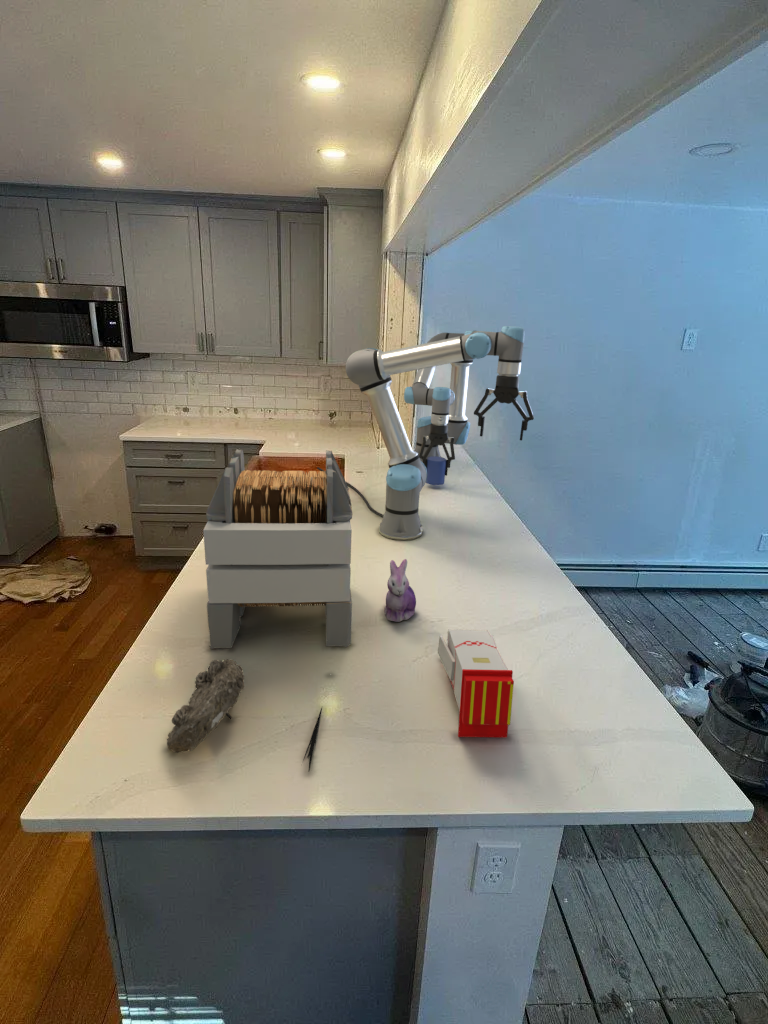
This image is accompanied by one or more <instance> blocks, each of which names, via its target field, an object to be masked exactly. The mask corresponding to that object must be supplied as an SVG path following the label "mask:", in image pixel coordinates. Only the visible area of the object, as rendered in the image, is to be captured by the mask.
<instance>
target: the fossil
mask: <svg viewBox="0 0 768 1024" xmlns="http://www.w3.org/2000/svg"><path fill="white" fill-rule="evenodd" d="M243 670H244V669H243V667H242V665H240V664H237V662H236V661H235V660H234V659H232V658H231V659H227V658H226V659H224V660H223V661H222V660H217V659H212V660H211V661H210V663H209V665H208V666H207V671H201V672H199V673H198V674H197V675H196V676H195V680H194V684H195V685H194V687H195V689H194V690H193V693H192V694H191V697H190V698H189V700H188V704H184V705H182V706H181V707H180V709H177V710H176V711H175V713H174V715H173V716H172V718H171V723H172V724H173V727H172V730H171V731H170V732H168V734H167V738H166V741H167V742H166V745H167V749H168V750H169V751H173V752H174V753H176V754H178V753H182V752H188V751H189V752H192V751H193V750H195V748H196V747H197V746H199V744H200V743H201V742H203V741H204V740H205V739H206V738H207V737H208V736H209V735H210V734H211V733H212V732H214V730H215V729H217V727H218V726H219V724H220V722H221V721H222V720H223V719H224V718H225V716H226V717H227V719H229V720H233V717H232V715H230V714H229V710H230V709H231V708H234V706H235V704H236V703H237V702H238V699H239V697H240V695H241V693H242V691H243V690H245V689H244V688H245V675H244V671H243Z"/></svg>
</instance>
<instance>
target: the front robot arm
mask: <svg viewBox="0 0 768 1024" xmlns="http://www.w3.org/2000/svg"><path fill="white" fill-rule="evenodd" d="M525 333H526V331H525V329H524V327H522V326H510V325H503V326H502V327H501V329H500V331H497V332H496V331H487V330H486V331H484V330H466V331H465V332H464V333H463V334H464V336H459V337H454V338H449V339H444V340H439V341H435V342H430V343H427V342H426V343H425V342H424V343H419V344H416V345H411V346H406V347H401V348H396V349H392V350H387V351H383V350H382V349H377V348H374V347H366V348H363V349H359V350H356V351H354V352H353V353H351V354H349V356H348V358H347V360H346V363H345V374H346V376H347V377H348V379H349V380H350V382H352V384H353V383H354V384H355V385H357V386H358V387H359V391H360V393H361V394H363V395H365V396H366V397H367V399H368V402H369V405H370V408H371V410H372V413H373V416H374V418H375V421H376V424H377V427H378V429H379V433H380V435H381V438H382V440H383V442H384V446H385V448H386V451H387V453H388V456H389V459H388V463H387V465H388V470H387V471H386V476H385V483H386V484H385V504H384V505H385V507H384V508H385V509H384V513H381V512H379V511H377V510H375V509H374V508H373V507H372V506H371V505H370V502H369V501H368V500H367V498H366V497H365V496H364V495H363V494H362V492H360V490H358V489H357V488H356V487H355V486H354V485H352V484H351V483H349V482H348V481H346V484H347V486H348V487H349V488H350V489H352V490H353V491H355V492H356V493H357V494H358V495H359V496H360V497H361V499H362V500H363V501H364V503H365V504H366V507H367V508H368V509H369V511H371V512H372V513H374V514H375V515H377V516H379V517H381V518H382V519H381V522H379V526H378V533H379V534H380V535H381V536H382V537H385V538H387V539H389V540H395V541H410V540H415V539H418V538H420V537H421V536H422V535H423V531H424V527H423V525H422V524H421V518H420V515H419V507H420V506H419V505H420V494H421V491H422V490H423V488H424V487H425V485H426V484H427V483H426V480H427V469H426V467H425V465H424V464H423V463H422V462H421V460H420V458H419V455H418V453H417V452H415V451H414V449H413V448H412V446H411V442H410V440H409V437H408V434H407V430H406V429H405V426H404V423H403V421H402V417H401V414H400V412H399V409H398V406H397V404H396V401H395V398H394V395H393V393H392V389H391V385H392V382H393V380H392V377H391V376H393V375H398V374H402V373H407V372H413V371H418V370H419V369H424V368H429V367H434V366H436V367H437V366H443V365H448V364H450V363H454V362H459V361H464V360H470V359H475V360H479V359H483V358H485V357H486V356H493V357H496V356H497V357H498V360H497V369H496V374H497V375H496V379H495V388H494V389H493V388H491V387H486V388H485V390H484V391H485V392H484V395H483V397H482V399H480V401H479V403H478V405H477V406H476V408H475V409H474V411H473V415H474V416H476V417H478V418H477V419H478V420H477V426H478V427H480V431H479V437H483V436H484V430H485V419H486V416H484V415H485V414H487V412H488V411H489V410H490V409H491V408H492V407H493V406H495V404H497V403H500V404H507V405H509V404H512V405H513V406H514V407H515V410H517V412H518V413H519V414H520V416H521V417H522V421H521V427H520V435H519V441H523V438H524V431H525V432H526V431H527V430H528V426H529V425H528V424H529V422H530V421H533V420H535V415H534V413H533V410H532V407H531V405H530V401H529V398H528V391H527V390H524V391H519V387H520V386H519V385H520V375H521V369H522V361H523V360H522V359H523V352H524V346H525V345H524V344H525ZM492 394H493V395H494V397H495V398H494V399H493V400H492V401H491V402H490V403H489V404H488V405H487V406H485V408H483V410H482V411H480V410H481V408H482V407H483V405H484V404H485V402H486V401H487V399H488V397H489V396H491V395H492ZM519 396H520V398H522V399H523V402H524V403H523V404H524V405H525V408H526V411H527V413H526V411H524V409H523V408H522V406H521V404H520V403H519V402H518V400H517V398H518V397H519ZM316 470H318V471H319V472H320V471H321V472H322V471H323V472H324V471H325V472H326V470H325V469H323V468H321V467H316Z"/></svg>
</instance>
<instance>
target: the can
mask: <svg viewBox="0 0 768 1024" xmlns="http://www.w3.org/2000/svg"><path fill="white" fill-rule="evenodd" d="M446 460H447V458H446V457H442V456H441V457H428V458H427V480H426V483H425V484H427V485H430V486H443V485H445V481H446V475H445V470H446Z"/></svg>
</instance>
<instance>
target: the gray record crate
mask: <svg viewBox="0 0 768 1024" xmlns="http://www.w3.org/2000/svg"><path fill="white" fill-rule="evenodd" d="M307 471H308V470H307ZM307 471H305V470H282V471H276V470H264V469H263V470H262V469H261V470H256V469H255V470H254V469H253V470H249V469H245V454H244V449H238V448H237V449H235V451H234V454H233V456H231V458H230V460H229V462H228V465H227V467H225V468H224V471H223V473H222V475H221V477H220V480H219V481H218V484H217V487H216V489H215V491H214V493H213V496H212V498H211V500H210V502H209V504H208V506H207V509H206V512H205V516H206V520H207V521H206V524H205V526H204V527H203V530H202V531H203V545H204V559H205V561H204V562H205V565H206V566H207V567H206V570H205V574H206V575H205V576H206V588H207V589H206V590H207V603H206V611H207V612H206V614H207V626H208V634H209V645H208V647H209V648H210V649H212V650H216V649H232V648H233V645H234V643H235V640H236V638H237V635H238V633H239V631H240V628H241V625H242V623H241V617H244V614H245V613H244V612H245V610H246V607H248V608H249V607H252V608H253V607H254V608H255V607H258V608H259V607H260V608H261V607H300V606H301V607H307V606H309V607H310V606H312V607H315V606H316V607H317V606H319V607H320V606H324V607H325V608H324V609H325V647H345V648H347V647H349V646H350V645H352V620H353V617H352V616H353V614H352V613H353V600H352V592H351V571H352V570H351V564H352V563H351V562H352V561H351V560H352V533H353V530H352V529H353V528H352V523H351V520H352V519H353V508H352V507H353V506H352V501H351V495H350V487H349V486H348V485H347V484H346V482H347V481H346V480H345V478H344V475H343V473H342V470H341V469H340V467H339V463H338V462H337V460H336V457H335V456H334V453H333V451H332V450H325V470H324V472H323V471H320V470H319V471H317V470H309V471H308V472H307ZM325 471H326V472H325Z"/></svg>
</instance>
